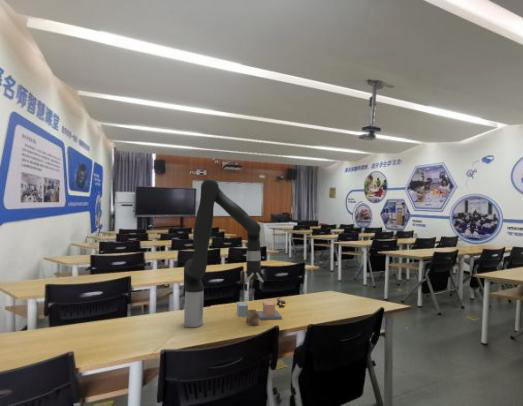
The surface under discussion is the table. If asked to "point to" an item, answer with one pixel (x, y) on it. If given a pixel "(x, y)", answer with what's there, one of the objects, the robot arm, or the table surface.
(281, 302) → the toy set
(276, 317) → the baseplate
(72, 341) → the table surface
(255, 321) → the brick walnut
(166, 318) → the table surface
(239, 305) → the brick slate
